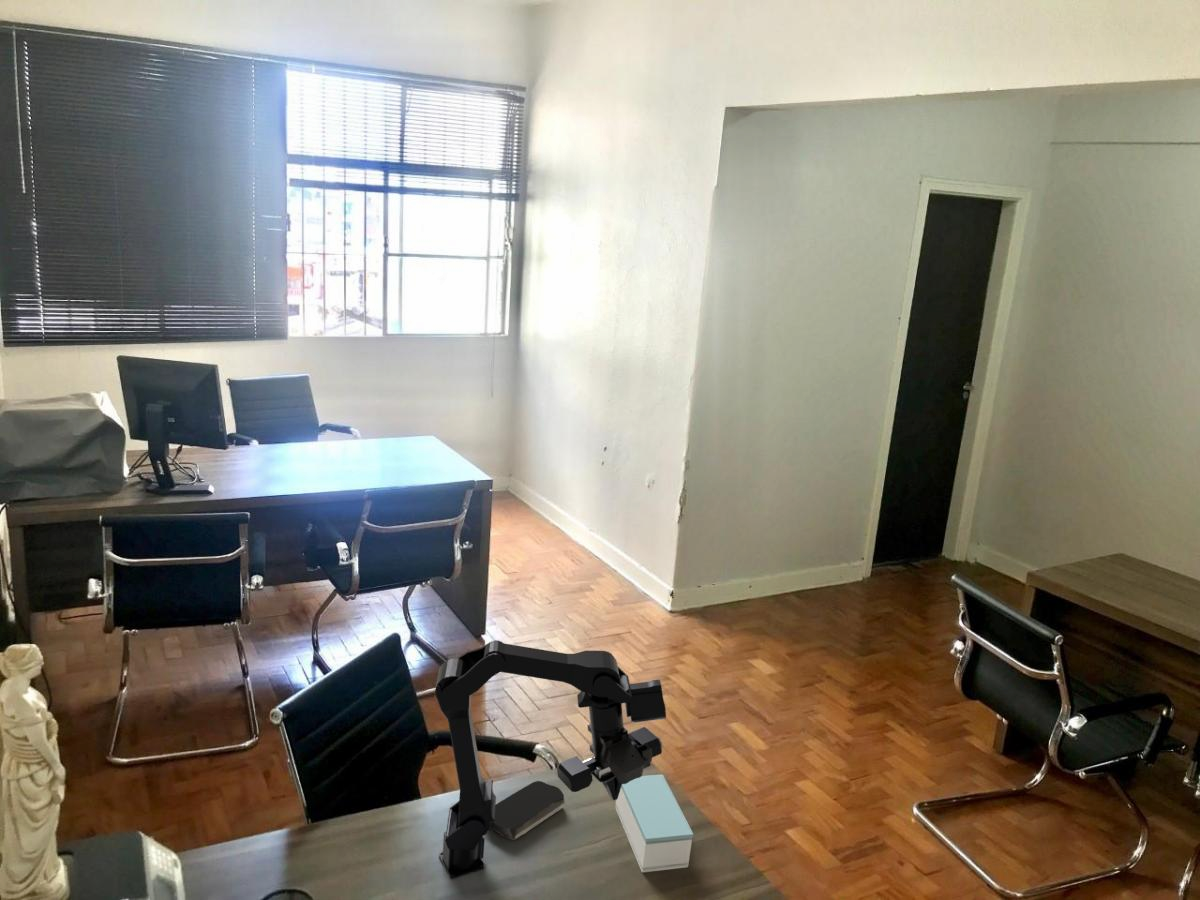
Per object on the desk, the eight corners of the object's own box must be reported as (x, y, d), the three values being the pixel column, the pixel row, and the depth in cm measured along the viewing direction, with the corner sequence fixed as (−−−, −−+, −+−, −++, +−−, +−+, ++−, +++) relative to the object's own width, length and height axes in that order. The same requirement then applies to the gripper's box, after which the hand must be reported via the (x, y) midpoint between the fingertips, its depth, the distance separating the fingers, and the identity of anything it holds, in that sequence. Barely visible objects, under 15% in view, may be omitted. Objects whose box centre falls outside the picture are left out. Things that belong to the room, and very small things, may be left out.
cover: (645, 842, 161) (645, 838, 161) (618, 781, 178) (619, 777, 178) (692, 837, 164) (693, 834, 164) (662, 777, 180) (662, 774, 180)
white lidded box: (642, 872, 163) (645, 844, 161) (615, 808, 180) (618, 782, 178) (688, 867, 165) (691, 839, 164) (657, 804, 182) (660, 778, 180)
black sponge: (508, 849, 166) (510, 832, 165) (478, 826, 171) (479, 810, 170) (567, 809, 178) (569, 794, 177) (537, 789, 183) (538, 774, 183)
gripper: (583, 766, 144) (591, 846, 149) (677, 724, 153) (682, 801, 157) (551, 734, 154) (560, 810, 158) (641, 696, 162) (647, 770, 167)
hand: (614, 798), depth 160 cm, fingers closed
